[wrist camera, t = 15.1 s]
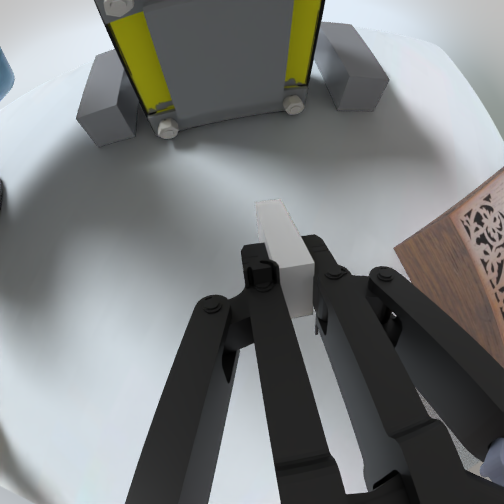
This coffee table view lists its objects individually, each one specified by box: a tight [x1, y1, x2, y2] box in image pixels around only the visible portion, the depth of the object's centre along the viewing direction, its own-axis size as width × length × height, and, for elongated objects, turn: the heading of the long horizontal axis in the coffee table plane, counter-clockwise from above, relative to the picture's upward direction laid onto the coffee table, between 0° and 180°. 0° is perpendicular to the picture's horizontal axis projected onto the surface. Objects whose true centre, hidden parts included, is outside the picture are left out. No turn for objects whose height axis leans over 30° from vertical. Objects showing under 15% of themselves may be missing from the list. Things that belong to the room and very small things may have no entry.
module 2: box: [314, 22, 389, 111], centre depth 29 cm, size 5×12×6 cm, turn 8°
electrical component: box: [94, 0, 325, 139], centre depth 21 cm, size 18×10×20 cm, turn 103°
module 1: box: [76, 49, 139, 147], centre depth 28 cm, size 5×12×6 cm, turn 8°
